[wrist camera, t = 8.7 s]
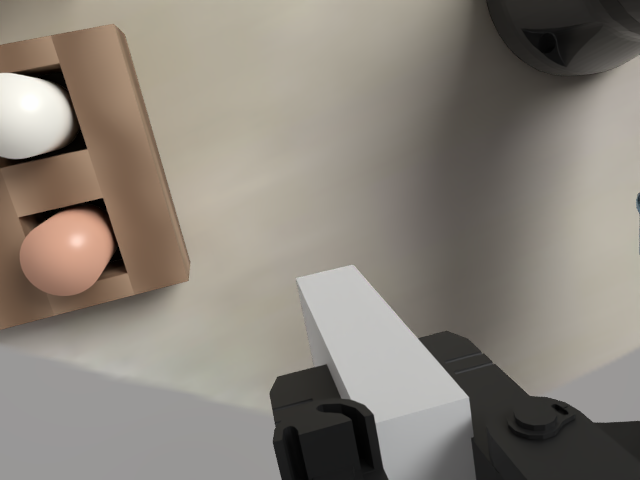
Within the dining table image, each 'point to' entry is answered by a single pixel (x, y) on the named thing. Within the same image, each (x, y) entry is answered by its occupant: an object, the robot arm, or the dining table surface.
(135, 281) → the wooden egg holder
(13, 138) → the white egg
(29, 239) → the brown egg
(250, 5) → the dining table surface
